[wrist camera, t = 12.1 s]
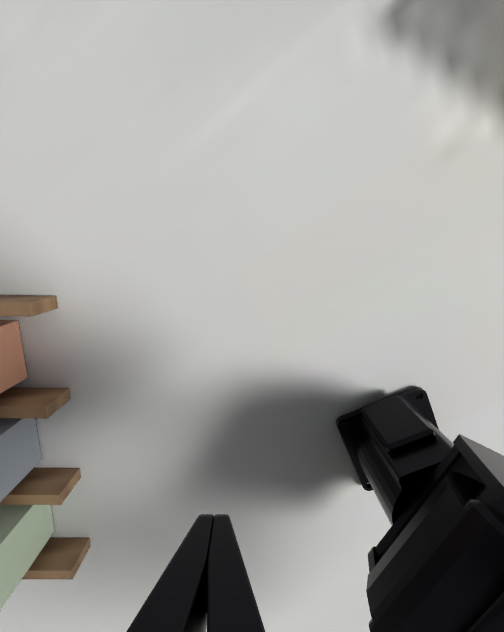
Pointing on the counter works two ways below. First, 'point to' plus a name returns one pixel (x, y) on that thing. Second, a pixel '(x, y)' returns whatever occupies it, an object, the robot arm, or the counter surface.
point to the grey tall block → (17, 451)
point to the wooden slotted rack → (42, 483)
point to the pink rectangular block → (11, 355)
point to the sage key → (21, 542)
